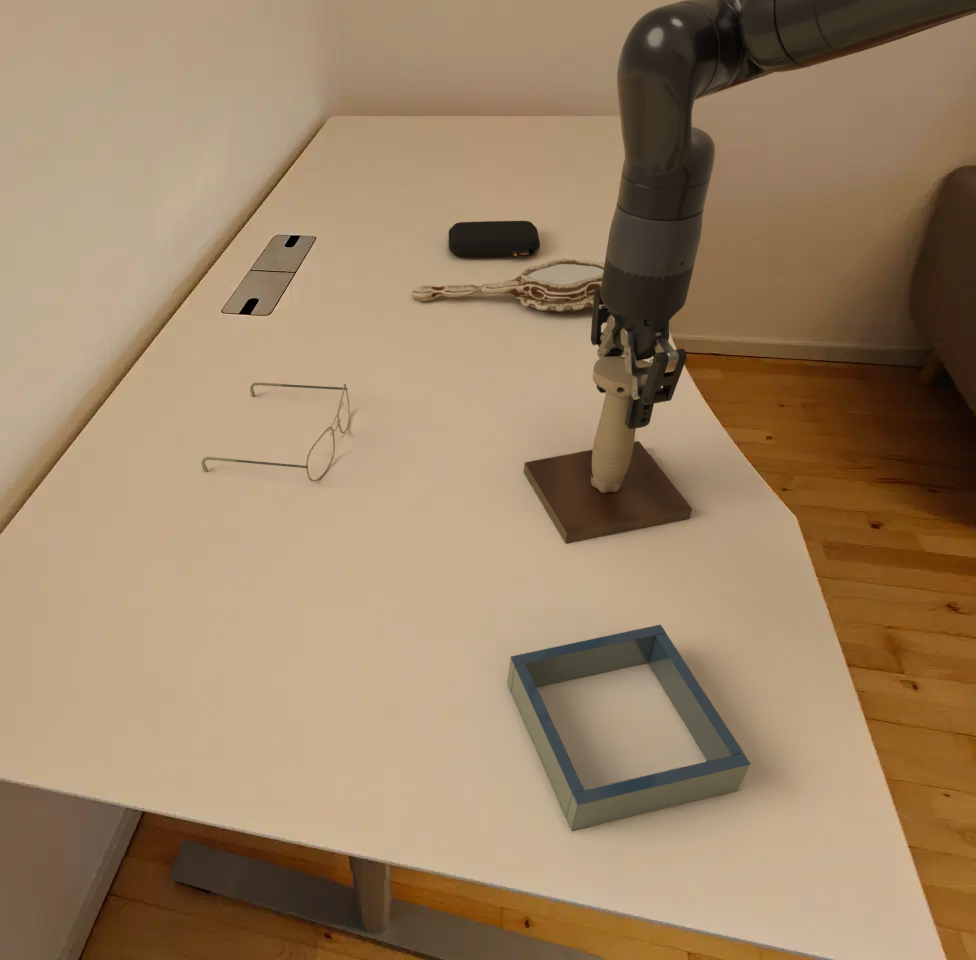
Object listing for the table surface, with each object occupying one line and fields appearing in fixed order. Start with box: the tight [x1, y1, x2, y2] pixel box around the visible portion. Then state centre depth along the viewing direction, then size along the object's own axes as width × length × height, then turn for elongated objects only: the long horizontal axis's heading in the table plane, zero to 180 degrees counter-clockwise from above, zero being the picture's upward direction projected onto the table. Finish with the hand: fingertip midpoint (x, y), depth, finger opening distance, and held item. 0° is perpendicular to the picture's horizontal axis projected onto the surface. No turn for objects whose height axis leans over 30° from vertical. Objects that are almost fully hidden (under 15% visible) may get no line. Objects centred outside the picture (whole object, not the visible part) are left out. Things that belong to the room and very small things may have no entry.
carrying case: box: [448, 220, 541, 259], centre depth 139 cm, size 11×3×15 cm
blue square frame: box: [506, 624, 752, 831], centre depth 69 cm, size 14×14×4 cm
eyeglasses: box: [201, 381, 351, 482], centre depth 103 cm, size 16×15×5 cm
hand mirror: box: [411, 258, 605, 312], centre depth 125 cm, size 11×6×30 cm
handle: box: [591, 355, 650, 493], centre depth 87 cm, size 5×6×15 cm
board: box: [523, 440, 693, 544], centre depth 93 cm, size 14×12×2 cm
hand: (621, 406), depth 85 cm, fingers closed on handle, 6 cm apart
